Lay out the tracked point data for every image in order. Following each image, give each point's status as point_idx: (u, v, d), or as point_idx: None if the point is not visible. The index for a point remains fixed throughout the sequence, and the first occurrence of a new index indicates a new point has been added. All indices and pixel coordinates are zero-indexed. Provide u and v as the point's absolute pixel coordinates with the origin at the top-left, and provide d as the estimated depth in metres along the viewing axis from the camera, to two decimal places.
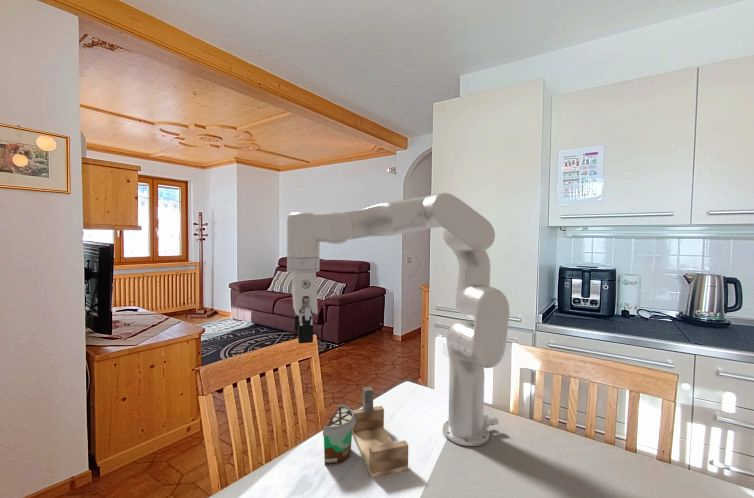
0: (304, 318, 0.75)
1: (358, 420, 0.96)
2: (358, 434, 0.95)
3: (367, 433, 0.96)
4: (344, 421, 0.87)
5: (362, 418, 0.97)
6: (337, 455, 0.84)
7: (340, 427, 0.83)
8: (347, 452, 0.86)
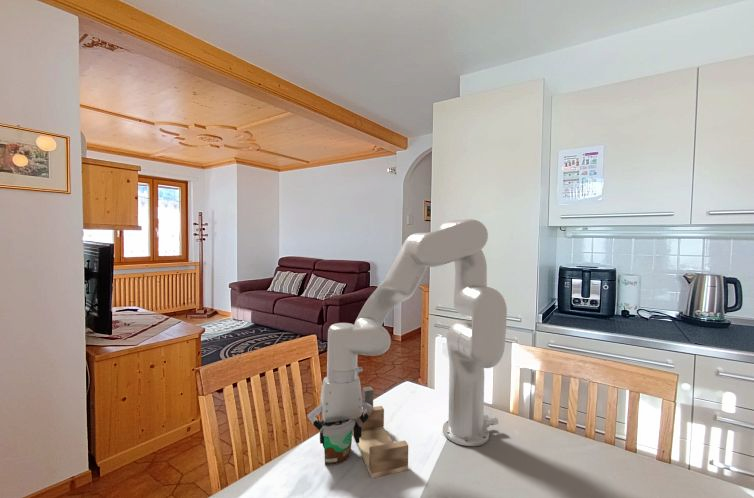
0: (368, 416, 0.89)
1: None
2: None
3: (367, 433, 0.96)
4: (344, 421, 0.87)
5: None
6: (338, 455, 0.84)
7: (340, 427, 0.83)
8: (347, 452, 0.86)
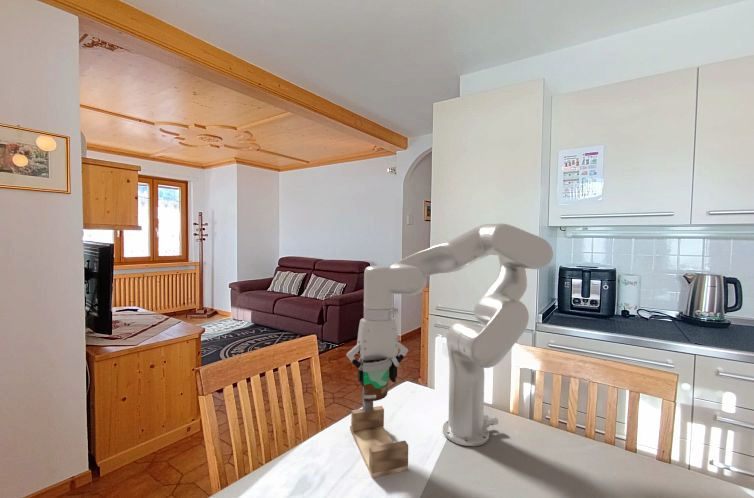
0: (403, 356, 0.91)
1: (358, 420, 0.96)
2: (358, 434, 0.95)
3: (367, 433, 0.96)
4: (381, 360, 0.88)
5: (362, 418, 0.97)
6: (376, 392, 0.86)
7: (379, 364, 0.85)
8: (385, 390, 0.88)
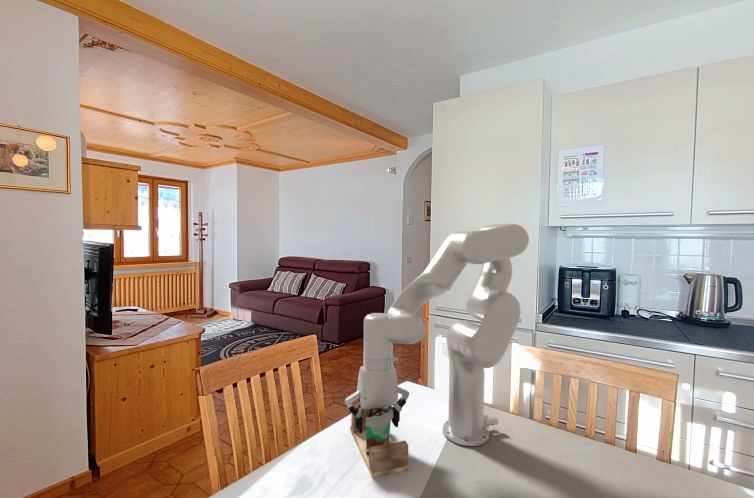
0: (405, 401, 0.92)
1: None
2: (358, 434, 0.95)
3: None
4: (383, 412, 0.89)
5: (362, 418, 0.97)
6: None
7: (382, 418, 0.86)
8: (387, 442, 0.88)
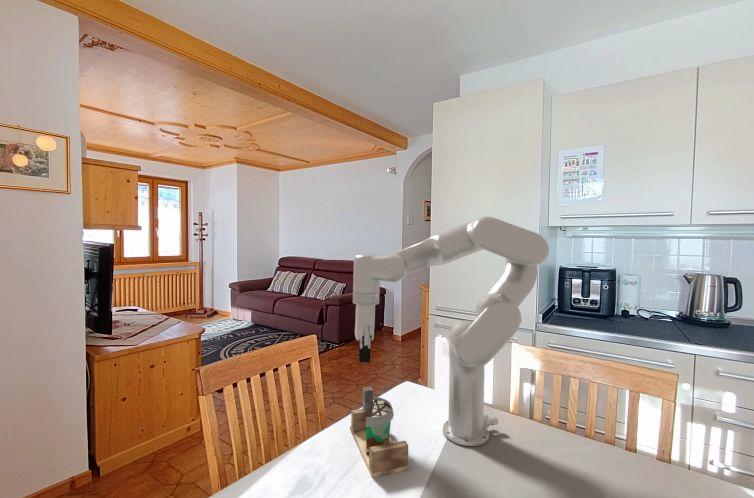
0: None
1: (358, 420, 0.96)
2: (358, 434, 0.95)
3: None
4: (383, 412, 0.89)
5: (362, 418, 0.97)
6: None
7: (382, 418, 0.86)
8: (387, 442, 0.88)
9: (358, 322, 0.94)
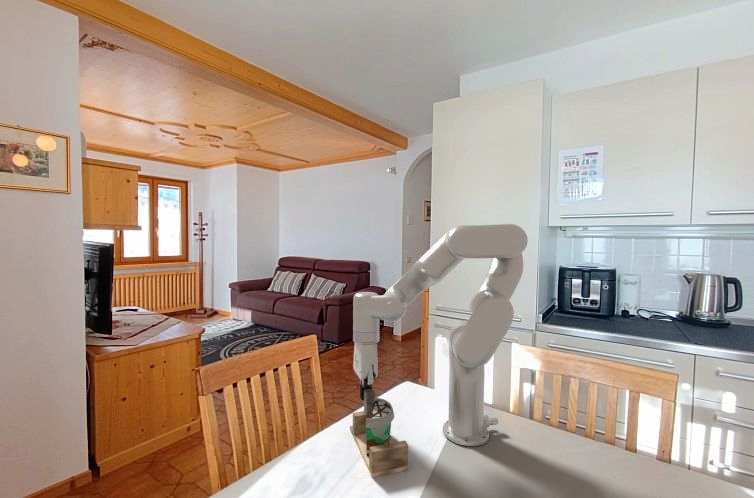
0: None
1: (359, 423, 0.95)
2: (358, 434, 0.95)
3: None
4: (384, 413, 0.88)
5: (364, 421, 0.95)
6: None
7: (382, 419, 0.85)
8: (387, 443, 0.88)
9: (362, 362, 0.95)
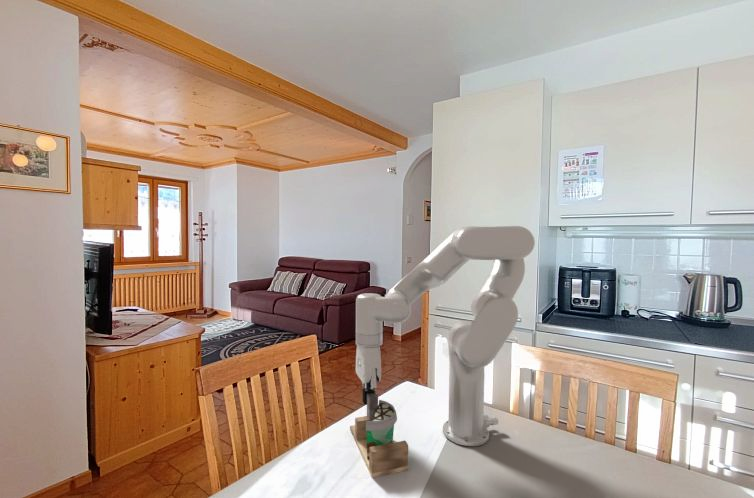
0: None
1: (362, 428, 0.92)
2: None
3: None
4: (386, 416, 0.87)
5: None
6: None
7: (382, 422, 0.84)
8: None
9: (365, 365, 0.92)
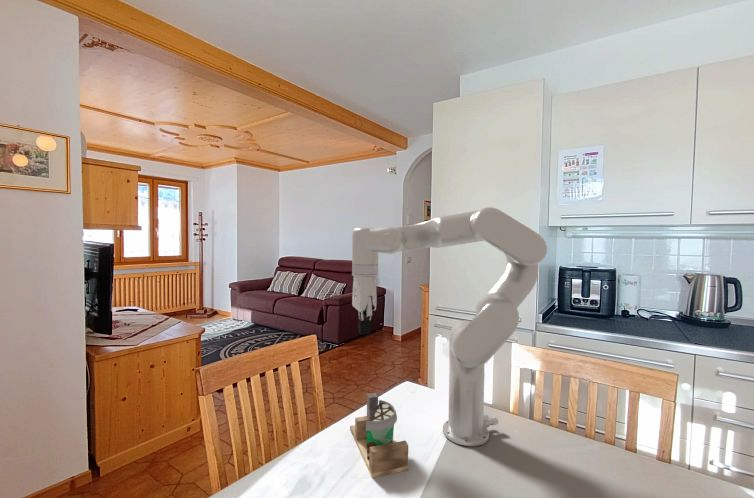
0: None
1: (362, 428, 0.92)
2: None
3: None
4: (386, 416, 0.87)
5: None
6: None
7: (382, 422, 0.84)
8: None
9: (361, 293, 0.96)
